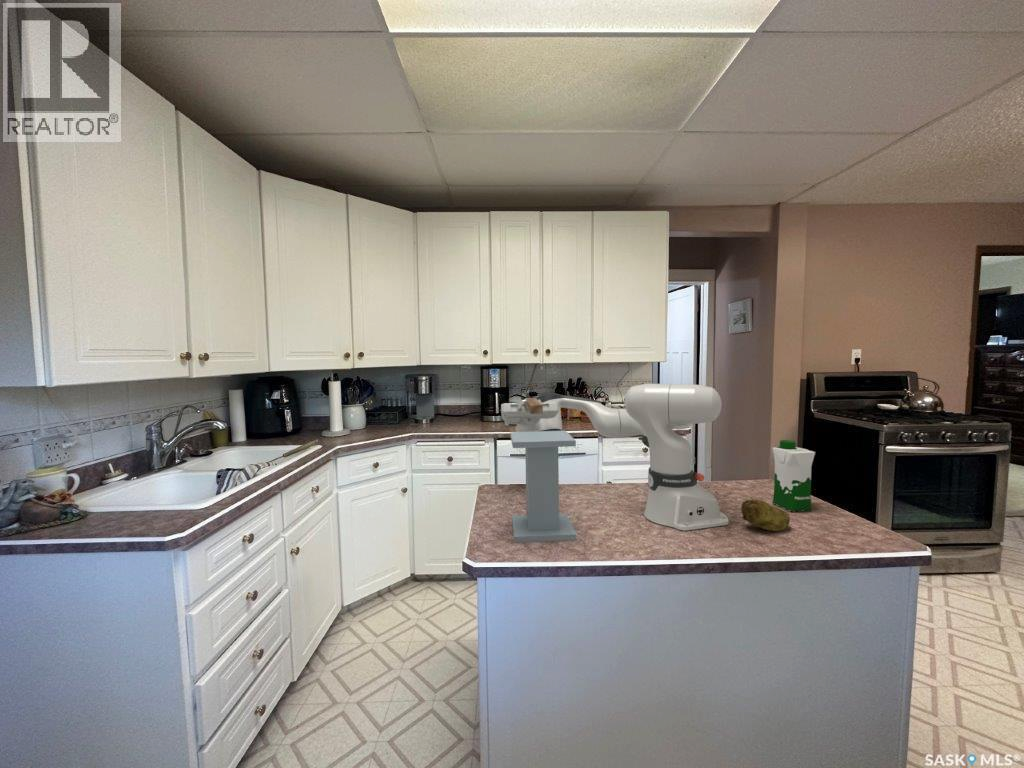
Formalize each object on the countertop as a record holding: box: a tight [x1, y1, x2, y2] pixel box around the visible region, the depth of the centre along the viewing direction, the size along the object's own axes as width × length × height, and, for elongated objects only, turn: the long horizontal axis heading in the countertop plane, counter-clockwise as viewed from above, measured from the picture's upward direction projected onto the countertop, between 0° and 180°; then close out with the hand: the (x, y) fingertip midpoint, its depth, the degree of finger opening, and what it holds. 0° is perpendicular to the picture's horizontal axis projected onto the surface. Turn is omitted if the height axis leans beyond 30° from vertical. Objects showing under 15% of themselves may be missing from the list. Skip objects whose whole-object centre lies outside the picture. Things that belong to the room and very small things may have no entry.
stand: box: [509, 430, 578, 543], centre depth 109 cm, size 16×14×26 cm
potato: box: [740, 498, 791, 532], centre depth 108 cm, size 8×13×8 cm, turn 81°
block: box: [524, 397, 543, 414], centre depth 129 cm, size 4×22×2 cm, turn 3°
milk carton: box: [772, 439, 816, 512], centre depth 122 cm, size 9×9×20 cm
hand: (531, 401), depth 135 cm, fingers closed on block, 3 cm apart
